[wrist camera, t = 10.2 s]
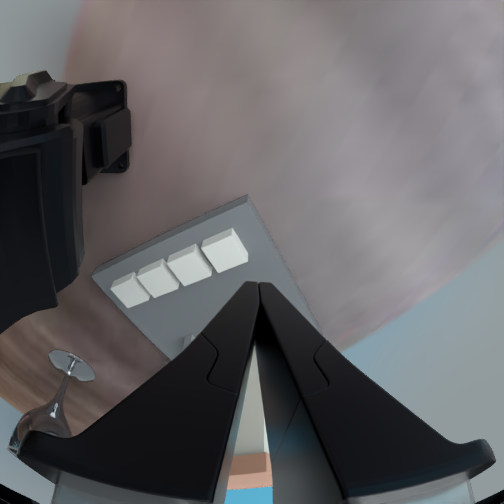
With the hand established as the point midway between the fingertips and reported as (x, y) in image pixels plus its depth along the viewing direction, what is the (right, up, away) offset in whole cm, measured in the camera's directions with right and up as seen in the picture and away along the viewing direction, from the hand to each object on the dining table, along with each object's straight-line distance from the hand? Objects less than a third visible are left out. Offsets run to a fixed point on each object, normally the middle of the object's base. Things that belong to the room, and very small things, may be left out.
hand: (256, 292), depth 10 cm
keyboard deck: (-4, -3, +18) cm, 19 cm away
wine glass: (-24, -14, +26) cm, 38 cm away
